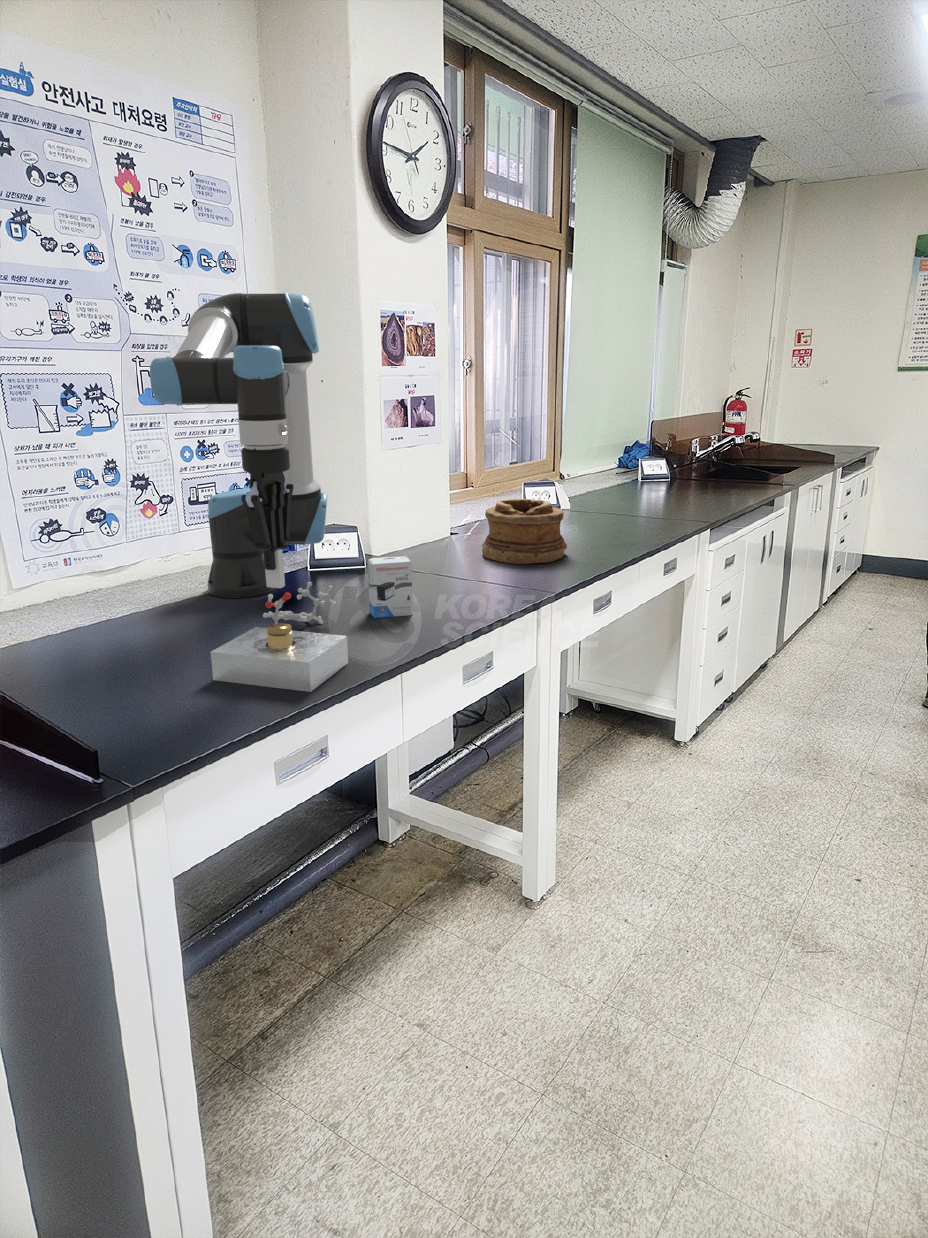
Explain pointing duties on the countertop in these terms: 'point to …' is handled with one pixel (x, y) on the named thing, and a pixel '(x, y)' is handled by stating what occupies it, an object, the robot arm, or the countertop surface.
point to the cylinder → (279, 636)
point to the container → (524, 532)
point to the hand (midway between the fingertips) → (275, 586)
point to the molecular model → (302, 616)
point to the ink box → (390, 587)
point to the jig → (280, 660)
